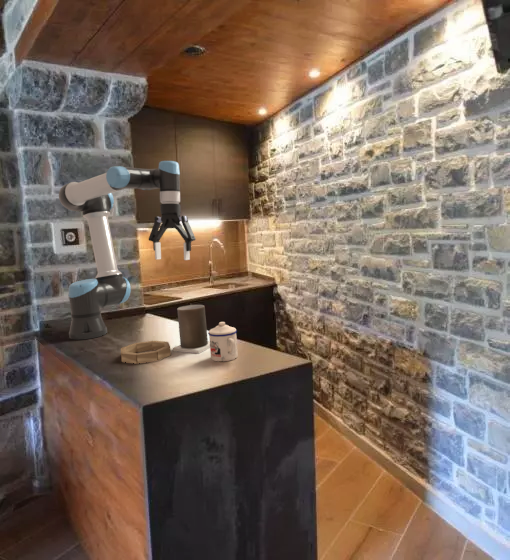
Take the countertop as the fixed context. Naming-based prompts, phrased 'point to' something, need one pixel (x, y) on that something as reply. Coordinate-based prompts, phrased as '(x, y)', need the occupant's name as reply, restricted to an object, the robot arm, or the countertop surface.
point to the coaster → (192, 349)
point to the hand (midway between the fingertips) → (172, 259)
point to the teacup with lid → (223, 342)
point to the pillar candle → (192, 326)
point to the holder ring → (132, 357)
